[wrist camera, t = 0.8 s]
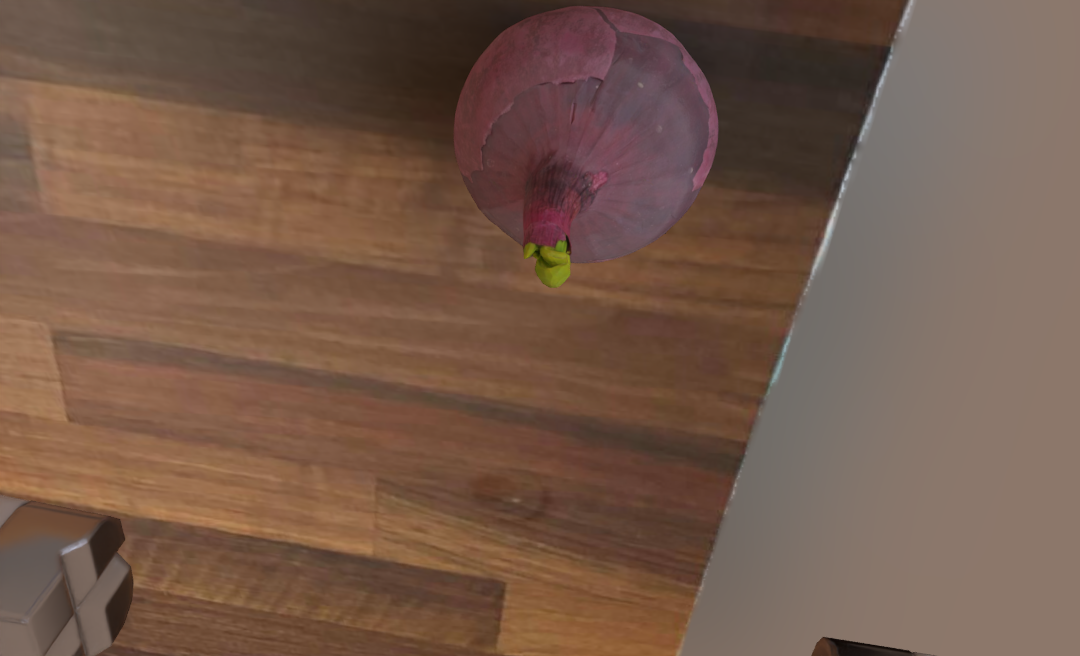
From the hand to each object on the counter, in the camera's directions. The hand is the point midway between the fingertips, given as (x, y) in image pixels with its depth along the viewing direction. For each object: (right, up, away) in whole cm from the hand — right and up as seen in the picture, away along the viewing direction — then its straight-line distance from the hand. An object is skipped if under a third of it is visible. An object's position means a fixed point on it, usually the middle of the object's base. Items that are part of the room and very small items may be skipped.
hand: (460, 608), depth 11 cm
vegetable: (+2, +10, +15) cm, 18 cm away
